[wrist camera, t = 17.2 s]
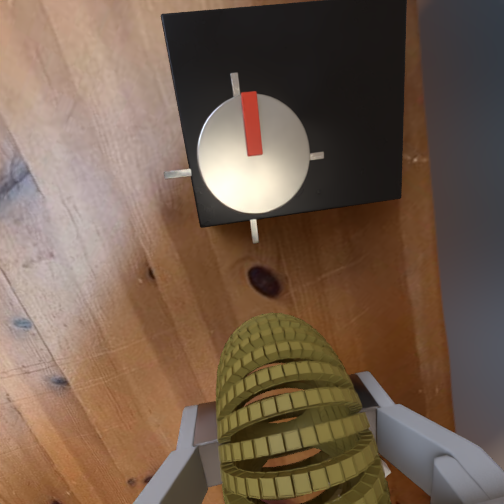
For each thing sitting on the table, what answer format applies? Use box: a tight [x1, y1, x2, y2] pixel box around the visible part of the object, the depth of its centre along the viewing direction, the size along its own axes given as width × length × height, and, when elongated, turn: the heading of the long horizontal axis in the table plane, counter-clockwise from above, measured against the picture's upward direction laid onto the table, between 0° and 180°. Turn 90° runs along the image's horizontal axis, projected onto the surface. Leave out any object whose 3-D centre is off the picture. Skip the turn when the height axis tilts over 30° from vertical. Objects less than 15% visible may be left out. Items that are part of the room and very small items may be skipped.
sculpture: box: [216, 313, 391, 504], centre depth 8 cm, size 8×4×8 cm, turn 9°
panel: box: [161, 0, 407, 243], centre depth 15 cm, size 13×11×3 cm
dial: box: [197, 91, 310, 215], centre depth 12 cm, size 4×4×4 cm
